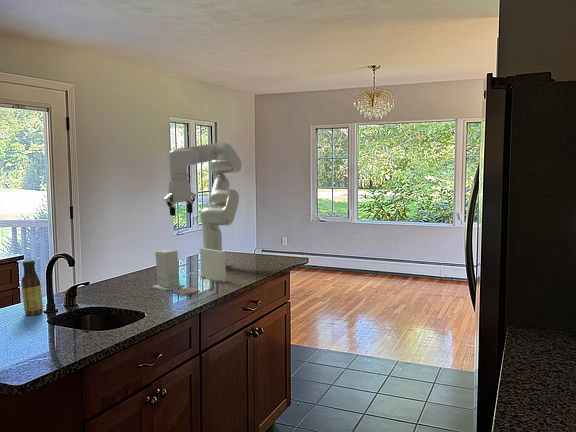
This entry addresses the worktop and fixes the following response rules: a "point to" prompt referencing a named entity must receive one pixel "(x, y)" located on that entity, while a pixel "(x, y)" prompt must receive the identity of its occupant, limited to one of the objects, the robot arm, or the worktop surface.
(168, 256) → the skincare box
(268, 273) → the worktop surface
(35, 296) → the sauce bottle
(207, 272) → the screen
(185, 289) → the terracotta tile
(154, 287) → the green pad
